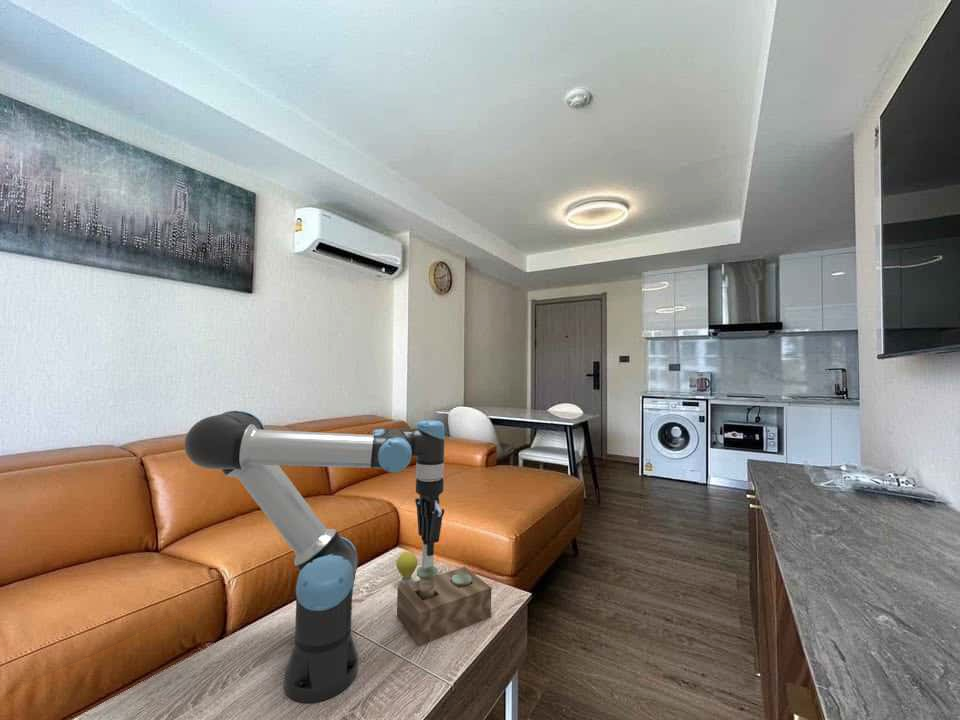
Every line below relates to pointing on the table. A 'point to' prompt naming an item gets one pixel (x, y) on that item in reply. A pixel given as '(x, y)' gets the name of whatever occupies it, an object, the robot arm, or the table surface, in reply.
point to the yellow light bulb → (406, 566)
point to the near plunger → (427, 581)
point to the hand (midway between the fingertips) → (427, 565)
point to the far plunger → (461, 579)
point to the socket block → (443, 606)
